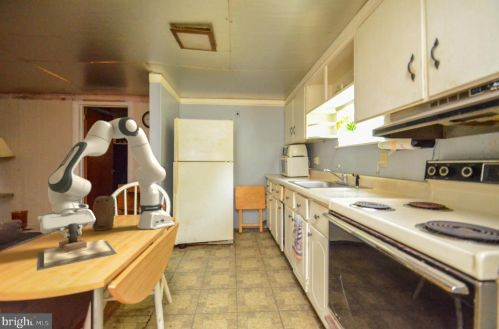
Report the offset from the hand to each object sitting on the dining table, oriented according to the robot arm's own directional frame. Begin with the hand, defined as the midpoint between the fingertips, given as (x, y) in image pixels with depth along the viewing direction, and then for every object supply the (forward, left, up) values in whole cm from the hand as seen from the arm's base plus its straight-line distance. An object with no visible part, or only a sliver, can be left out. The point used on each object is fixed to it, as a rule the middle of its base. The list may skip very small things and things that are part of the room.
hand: (73, 235), depth 106 cm
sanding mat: (-1, +4, -7) cm, 8 cm away
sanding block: (0, -1, -5) cm, 5 cm away
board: (-1, +4, -7) cm, 8 cm away
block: (-17, -36, -8) cm, 41 cm away
